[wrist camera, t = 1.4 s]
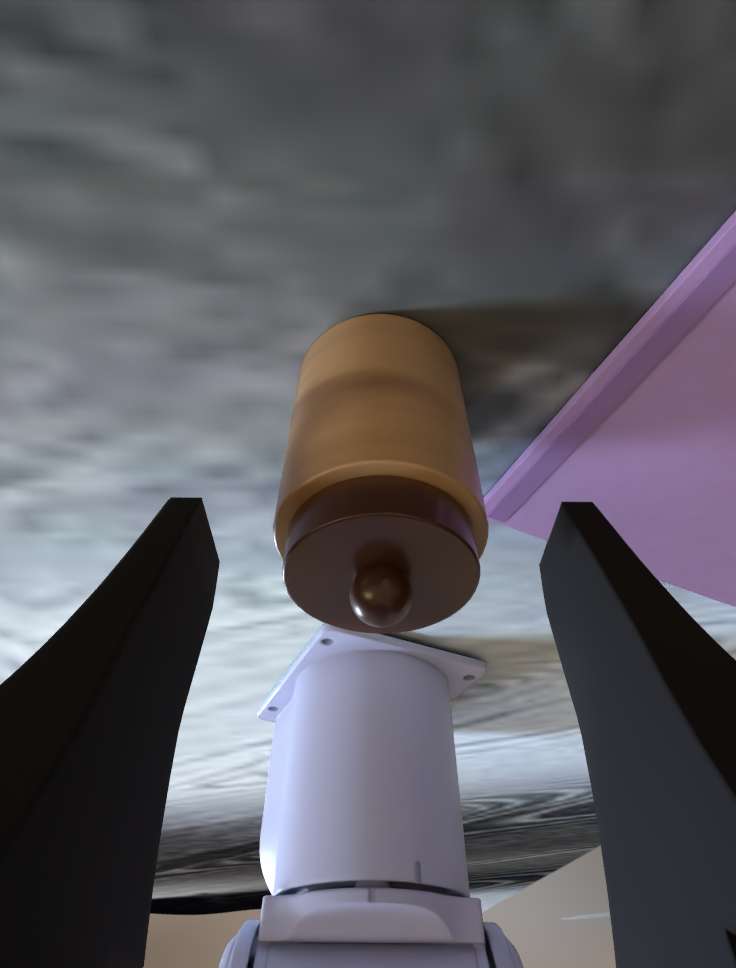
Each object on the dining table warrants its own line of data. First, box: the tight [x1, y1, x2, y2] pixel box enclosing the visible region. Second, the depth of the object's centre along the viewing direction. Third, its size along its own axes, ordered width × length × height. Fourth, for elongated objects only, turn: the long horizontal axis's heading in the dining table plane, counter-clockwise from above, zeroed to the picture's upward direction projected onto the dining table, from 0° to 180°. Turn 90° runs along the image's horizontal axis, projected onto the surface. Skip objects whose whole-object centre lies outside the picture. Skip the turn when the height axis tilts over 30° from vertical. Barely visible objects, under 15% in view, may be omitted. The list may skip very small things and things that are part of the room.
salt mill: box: [273, 314, 488, 634], centre depth 13 cm, size 4×4×8 cm
